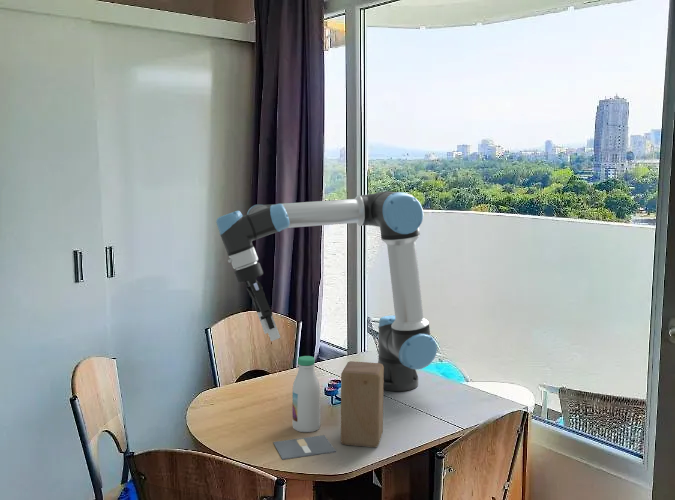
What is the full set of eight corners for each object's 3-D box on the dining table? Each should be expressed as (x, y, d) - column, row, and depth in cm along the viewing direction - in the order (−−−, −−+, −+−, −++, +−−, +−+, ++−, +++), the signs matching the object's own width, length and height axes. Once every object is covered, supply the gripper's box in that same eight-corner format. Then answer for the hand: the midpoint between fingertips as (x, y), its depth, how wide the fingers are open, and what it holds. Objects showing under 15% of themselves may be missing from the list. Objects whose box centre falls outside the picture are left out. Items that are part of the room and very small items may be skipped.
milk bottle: (324, 424, 179) (324, 355, 176) (314, 434, 172) (314, 363, 169) (298, 420, 181) (298, 352, 179) (288, 430, 174) (287, 360, 171)
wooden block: (378, 449, 163) (379, 374, 160) (340, 445, 165) (340, 371, 162) (383, 433, 173) (384, 362, 170) (347, 430, 175) (347, 359, 172)
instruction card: (324, 436, 171) (324, 434, 171) (336, 451, 161) (336, 450, 161) (273, 443, 166) (273, 441, 166) (282, 459, 157) (282, 458, 157)
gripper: (230, 268, 189) (255, 334, 192) (237, 272, 165) (265, 347, 167) (254, 259, 191) (278, 324, 193) (264, 262, 167) (291, 337, 169)
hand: (272, 335), depth 180 cm, fingers open, 13 cm apart
